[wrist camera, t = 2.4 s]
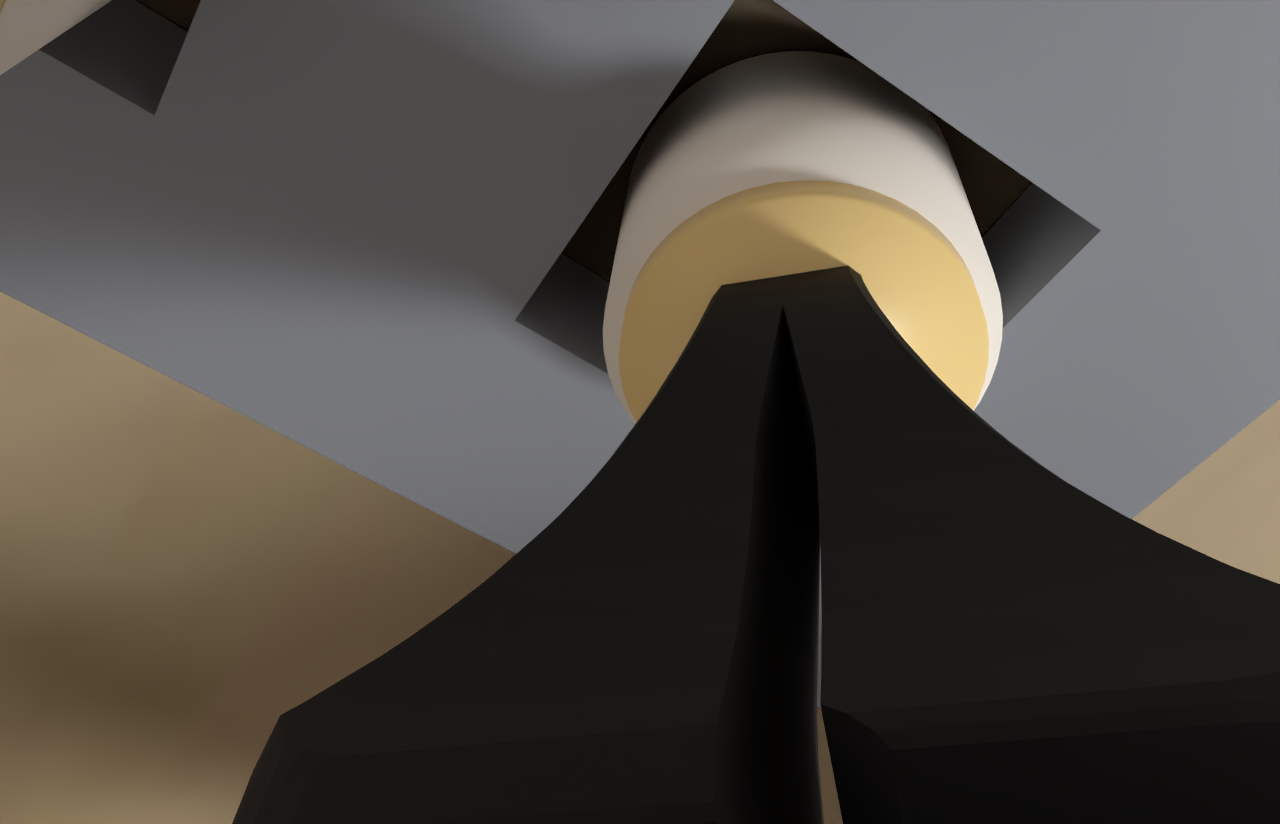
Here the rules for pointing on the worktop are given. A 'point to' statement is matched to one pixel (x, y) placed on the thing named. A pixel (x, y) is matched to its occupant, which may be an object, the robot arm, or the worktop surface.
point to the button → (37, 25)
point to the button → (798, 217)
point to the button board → (570, 186)
